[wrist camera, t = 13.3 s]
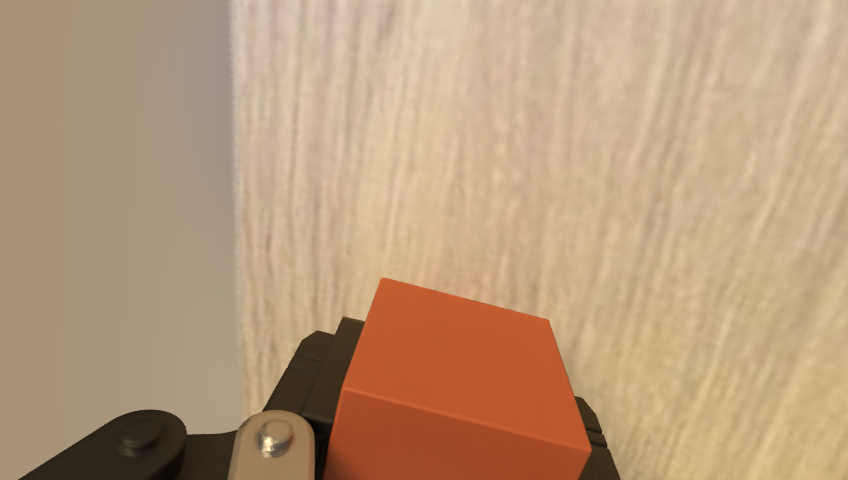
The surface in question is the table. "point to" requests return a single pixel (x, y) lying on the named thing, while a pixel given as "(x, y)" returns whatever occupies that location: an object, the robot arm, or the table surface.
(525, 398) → the block
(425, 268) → the table surface
